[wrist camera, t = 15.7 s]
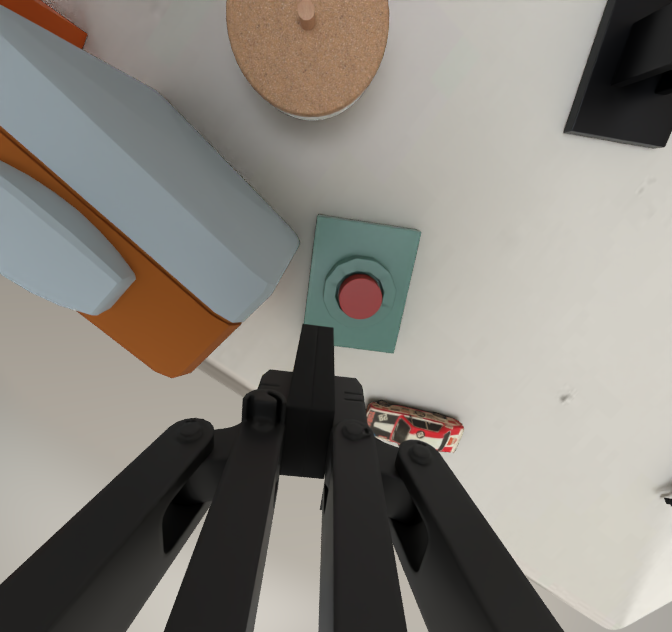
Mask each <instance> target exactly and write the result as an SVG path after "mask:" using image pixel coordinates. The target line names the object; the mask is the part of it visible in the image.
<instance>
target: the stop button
mask: <svg viewBox="0 0 672 632" xmlns="http://www.w3.org/2000/svg"><path fill="white" fill-rule="evenodd" d="M381 303H382V293H381V290H380V288H379V286H378V284H377V282H376V281H375V280H374V279H373V278H372V277H370V276H368V275H365V274H355V275H352V276H350V277H348V278H347V279H345V280H344V281H343V283H342V284H341V286H340V289H339V304H340V307H341V309H342V310H343V312H344V313H345V314H346V315H348V316H349V317H351V318H354V319H366V318H369V317H371V316H373V315H374V314H375V313H376V312H377V311H378V310H379V308H380V306H381Z"/></svg>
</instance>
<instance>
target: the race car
mask: <svg viewBox="0 0 672 632" xmlns="http://www.w3.org/2000/svg"><path fill="white" fill-rule="evenodd" d="M366 415H367V422H368V426H369V427H370V428H371V429H372V430H373V433H374V436H375V437H376V438H378V439H383V440H387V441H391V442H395V443H398V445H400V444H401V443H402V442H403V441H406V440H410V439H412V440H420V441H423V442H426V443H428V444H429V445H431V446H433V447H434V448H435V449H436V450H437V451H438V452H452V453H454V452H455V451H456V448H457V446H458V444H459V441H460V439H461V437H462V435H463V432H464V427H463V426H462V423H460V422H459V421H457V420H455V419H454V418H449V417H446V416H442V415H441V414H439V413H434V412H433V413H429V412H426V411H422V410H417V409H413V408H408V407H404V406H399V405H389V404H388V403H387V402H385V401H383V400H379V401H377V403H376V402H372V403H369V405H368V406H367V410H366Z"/></svg>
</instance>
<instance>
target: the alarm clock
mask: <svg viewBox="0 0 672 632" xmlns="http://www.w3.org/2000/svg"><path fill="white" fill-rule="evenodd" d="M299 244H300V241H299V239H298V237H297V235H296V233H295V232H294V231H293V230H292V229H291V228H290V227H289V226H288V224H287V223H286V222H285V221H284V220H283V219H282V218H281V217H280V216H279V215H278V214H277V213H276V212H275V211H274V210H273V209H272V208H271V207H270V206H269V205H268V204H267V203H266V202H265V201H264V200H263V199H262V198H261V197H260V196H259V195H258V194H257V193H256V192H255V191H254V190H253V189H252V188H251V186H250V185H249V184H248V183H247V182H246V181H245V180H244V179H243V178H242V177H241V176H240V175H239V174H238V173H237V172H236V171H235V170H234V169H233V168H232V167H231V166H230V165H229V164H228V163H227V162H226V161H225V160H224V159H223V158H222V157H221V156H220V155H219V154H218V153H217V152H216V151H215V150H214V148H213V147H212V146H211V145H210V144H209V143H208V142H207V141H206V140H205V139H204V138H203V137H202V136H201V135H200V134H199V133H198V132H197V131H196V130H195V129H194V128H193V127H192V126H191V125H190V124H189V123H188V122H187V121H186V120H185V119H184V118H183V117H182V116H181V115H180V113H179V112H178V111H177V110H176V109H175V108H174V107H173V106H172V105H171V104H170V103H169V102H168V101H167V100H166V99H165V98H164V97H163V96H161V95H160V94H159V93H158V92H157V91H156V90H154V89H153V88H151V87H149V86H147V85H146V84H144V83H142V82H140V81H138V80H137V79H135V78H133V77H131V76H129V75H128V74H126V73H124V72H122V71H120V70H118V69H116V68H115V67H113V66H111V65H109V64H107V63H105V62H104V61H102V60H100V59H98V58H96V57H95V56H93V55H91V54H89V53H87V52H85V51H84V50H82V49H80V48H78V47H76V46H75V45H73V44H71V43H69V42H67V41H66V40H64V39H62V38H60V37H58V36H57V35H55V34H53V33H51V32H50V31H48V30H46V29H44V28H42V27H41V26H39V25H37V24H35V23H33V22H31V21H30V20H28V19H26V18H24V17H22V16H20V15H19V14H17V13H15V12H13V11H11V10H9V9H8V8H6V7H4V6H2V5H0V274H1V275H2V276H4V277H6V278H7V279H9V280H11V281H13V282H14V283H16V284H17V285H19V286H21V287H22V288H24V289H26V290H27V291H29V292H31V293H33V294H35V295H38V296H40V297H42V298H44V299H46V300H48V301H51V302H53V303H55V304H57V305H59V306H63V307H66V308H69V309H72V310H76V311H77V312H78V313H80V314H81V315H82V316H84V317H85V318H86V319H87V320H89V321H90V322H91V323H93V324H94V325H95V326H97V327H98V328H99V329H101V330H102V331H103V332H104V333H106V334H107V335H108V336H110V337H111V338H112V339H113V340H115V341H116V342H117V343H119V344H120V345H121V346H122V347H124V348H125V349H126V350H128V351H129V352H130V353H132V354H133V355H134V356H136V357H137V358H138V359H139V360H141V361H142V362H143V363H145V364H146V365H147V366H148V367H150V368H151V369H152V370H154V371H155V372H157V373H160V374H162V375H165V376H168V377H170V378H174V377H178V376H182V375H185V374H188V373H191V372H192V371H193V370H194V369H195V368H196V367H197V366H199V365H200V364H201V363H202V362H203V361H204V360H205V359H206V358H207V357H208V356H209V355H210V354H211V353H212V352H213V351H214V350H215V349H216V348H217V347H218V346H219V345H220V344H221V343H222V342H223V341H224V340H225V339H226V338H227V337H228V336H229V335H230V334H231V333H232V332H233V331H234V330H235V329H237V328H238V327H239V326H240V325H241V323H242V322H244V321H245V320H246V319H247V318H248V317H249V316H250V315H251V314H252V313H253V312H254V311H255V310H256V309H257V308H258V307H259V306H260V305H261V304H262V303H263V302H264V301H265V300H266V299H267V298H268V297H269V296H270V295H271V294H272V293H273V291H274V289H275V288H276V286H277V284H278V282H279V280H280V279H281V277H282V275H283V273H284V272H285V270H286V268H287V267H288V265H289V263H290V261H291V259H292V258H293V256H294V254H295V252H296V251H297V249H298V247H299Z"/></svg>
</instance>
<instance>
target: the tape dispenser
mask: <svg viewBox="0 0 672 632" xmlns="http://www.w3.org/2000/svg"><path fill="white" fill-rule="evenodd" d="M0 5H2V6H4V7H6V8H8V9H9V10H11V11H13V12H15V13H17V14H19V15H20V16H22V17H24V18H26V19H28V20H30V21H31V22H33V23H35V24H37V25H39V26H41V27H42V28H44V29H46V30H48V31H50V32H51V33H53V34H55V35H57V36H58V37H60V38H62V39H64V40H66V41H67V42H69V43H71V44H73V45H75V46H76V47H78V48H80V49H82V48H83V46H84V43H85V40H86V37H87V35H88V34H87V33H85V32H84V31H82V30H81V29H80V28H78V27H77V26H76V25H74V24H73V23H71V22H70V21H69V20H67V19H66V18H64V17H63V16H62V15H60V14H59V13H58V12H56V11H55V10H53V9H52V8H51V7H49V6H48V5H46V4H45V3H44V2H42V1H41V0H0Z"/></svg>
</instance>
